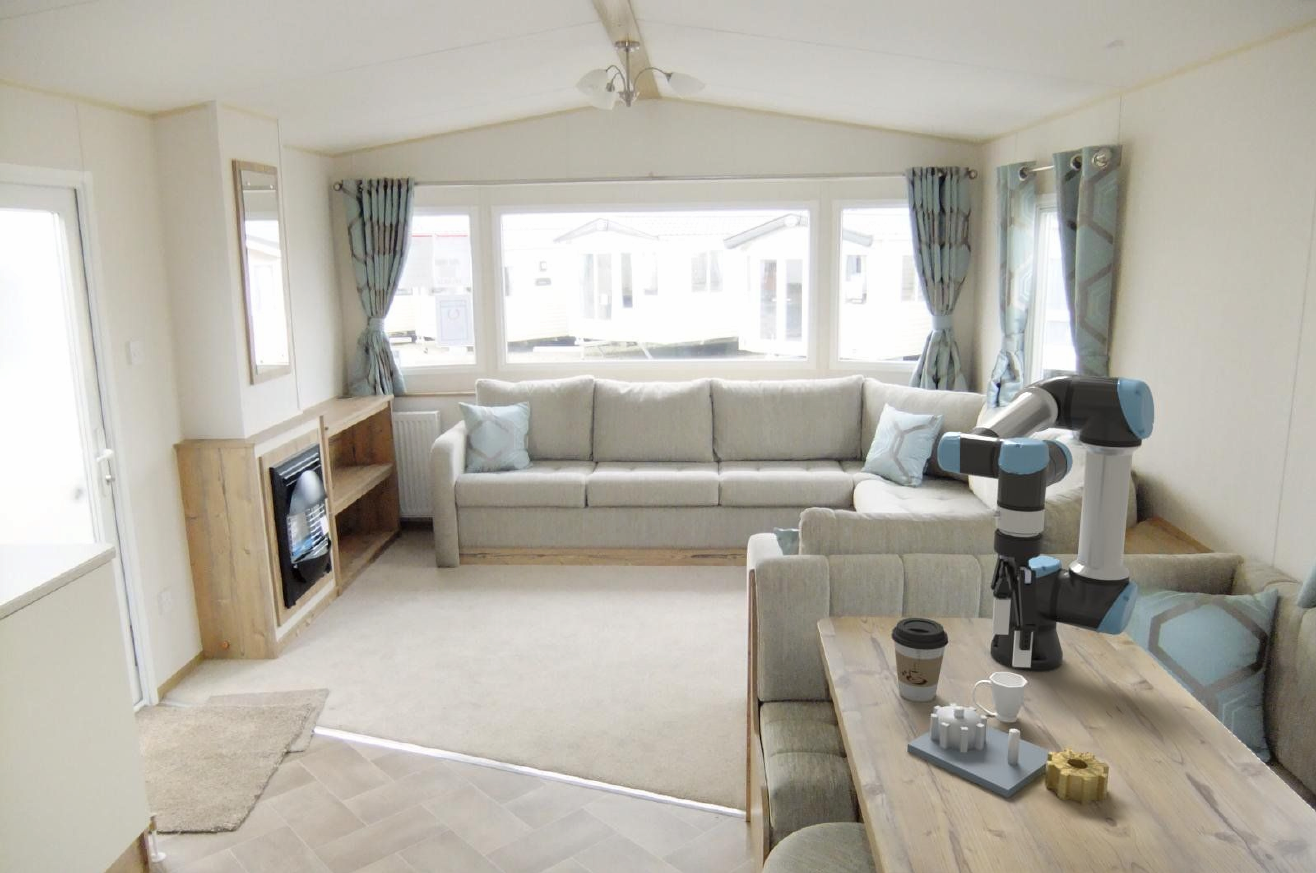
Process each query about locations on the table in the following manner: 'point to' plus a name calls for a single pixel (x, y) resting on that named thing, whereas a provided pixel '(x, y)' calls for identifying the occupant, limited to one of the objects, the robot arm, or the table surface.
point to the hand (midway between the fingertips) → (1010, 649)
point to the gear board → (979, 750)
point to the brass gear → (1076, 776)
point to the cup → (1005, 695)
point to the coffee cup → (919, 657)
